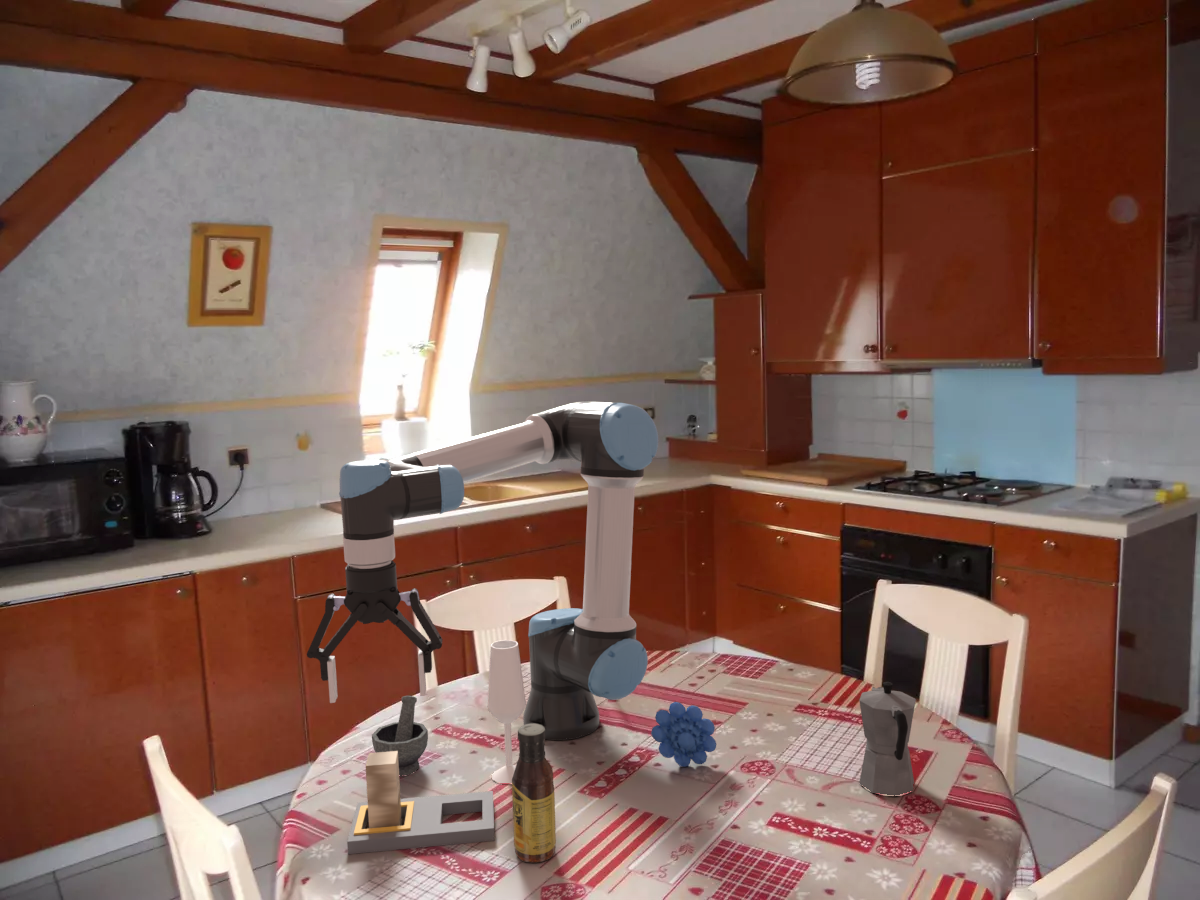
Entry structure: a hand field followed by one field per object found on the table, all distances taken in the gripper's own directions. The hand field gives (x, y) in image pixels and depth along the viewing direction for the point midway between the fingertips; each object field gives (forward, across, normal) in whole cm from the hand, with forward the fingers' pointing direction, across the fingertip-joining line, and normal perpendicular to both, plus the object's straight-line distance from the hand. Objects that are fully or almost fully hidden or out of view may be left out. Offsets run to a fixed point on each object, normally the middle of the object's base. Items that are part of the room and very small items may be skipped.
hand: (378, 696), depth 143 cm
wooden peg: (+22, 0, 0) cm, 22 cm away
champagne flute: (+22, -20, -15) cm, 33 cm away
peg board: (+22, -6, 0) cm, 23 cm away
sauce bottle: (+22, -23, +11) cm, 34 cm away
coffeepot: (+23, -83, +1) cm, 86 cm away
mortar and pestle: (+22, -1, -22) cm, 31 cm away
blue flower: (+22, -51, -12) cm, 57 cm away
